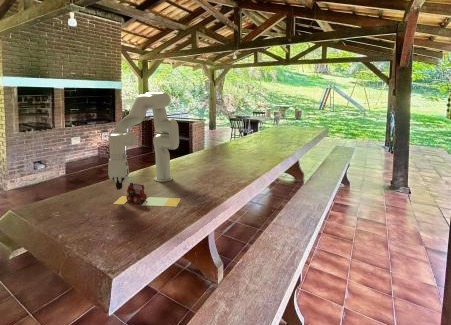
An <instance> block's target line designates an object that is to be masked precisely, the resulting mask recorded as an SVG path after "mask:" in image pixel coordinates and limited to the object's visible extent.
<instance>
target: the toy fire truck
mask: <svg viewBox="0 0 451 325" xmlns="http://www.w3.org/2000/svg"><path fill="white" fill-rule="evenodd" d="M126 196H127V197H126V198H127V202H128V203H130V202H133V203H134V204H139V203H140V201H146V200H147V199H148V196H147V194H146V193H145V185H144V184H141V183H133V182H129V185H128V186H127V190H126Z"/></svg>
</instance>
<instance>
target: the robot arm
mask: <svg viewBox="0 0 451 325" xmlns="http://www.w3.org/2000/svg"><path fill="white" fill-rule="evenodd" d="M170 103H171V96H170V94H169V93H167V92H163V91H162V92H161V91H148V92H145V93H144V94H139V95H137V97H136V98H135V100H134V102H133V104H132V106H131V108H130V111H129V113H128V115H126V116H124V117H123V118H122V119H121V120H120V121H119V122H118V123H116V124H115V127H114V129H113V131H112V133H111V134H109V135H108V145H109V159H108V165H107V166H108V167H107V172H108V173H107V174H108V178H109V179H110V180H112V181H114V183H115V188H116V190H117V191H118V190H119V191H121V190H122V188H123V182H124V181H126V180H128V179H129V175H130V171H129V170H130V169H129V168H130V167H129V163H128V160H127V158H128V155H127V154H126V153H125V147H133V146H134V145H136V143H137V141H138V137H137V135H136V134H135V133H133V132H129V131H126V130H128V129H129V128H130V127H134V126H136V125H138V124H141V123H142V122H143V121H144V119H145V116H146V115H147V111H148V110H151V111H152V114H153V127H154V130H155V131H156V132H158V134H156V135H154V137H153V139H152V140H153V141H152V142H153V148H154V153H155V154H154V155H155V177H153V179H154V181H155V182H159V183H160V182H164V183H165V182H170V181H172V180H173V179H174V178H173V176H172V175H171V160H170V159H171V158H170V157H171V155H170V152H169V150H176V149H178V148H179V144H180V136H179V135H180V133H179V132H180V130H179V124H178V122H177V120H176V119H174V118H168V116H167V109H166V107H169V105H170Z"/></svg>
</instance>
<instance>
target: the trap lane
mask: <svg viewBox="0 0 451 325" xmlns="http://www.w3.org/2000/svg"><path fill="white" fill-rule="evenodd" d="M126 197H127V195H121V196H120V197H119V198H118V199H117V200H115V201H114V202H112V205H125V204H126V203H128V201H127V198H126ZM181 200H182V198H179V197H178V198H177V197H159V196H158V197H157V196H155V197H154V196H149V197H148V196H147V198H146V200H144V202H142V204H141V206H146V207H148V206H149V207H169V208H170V207H171V208H174V207H175V208H177V207H178V205H179V203H180V201H181Z"/></svg>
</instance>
